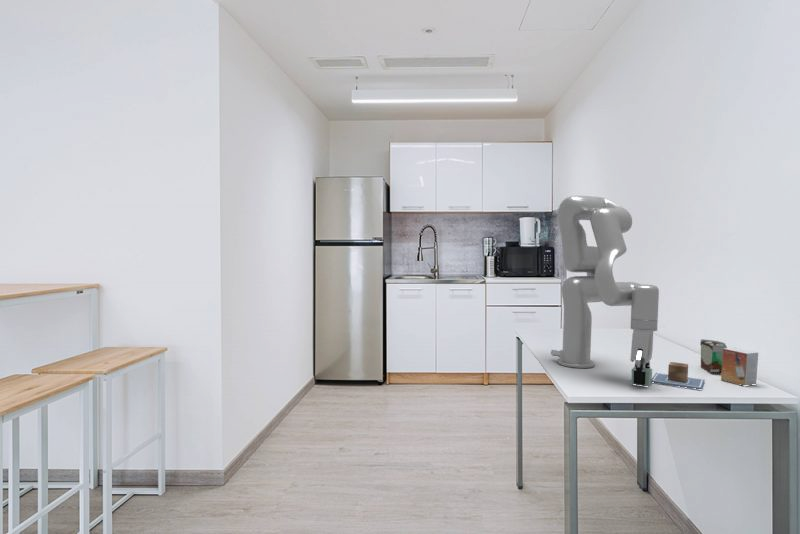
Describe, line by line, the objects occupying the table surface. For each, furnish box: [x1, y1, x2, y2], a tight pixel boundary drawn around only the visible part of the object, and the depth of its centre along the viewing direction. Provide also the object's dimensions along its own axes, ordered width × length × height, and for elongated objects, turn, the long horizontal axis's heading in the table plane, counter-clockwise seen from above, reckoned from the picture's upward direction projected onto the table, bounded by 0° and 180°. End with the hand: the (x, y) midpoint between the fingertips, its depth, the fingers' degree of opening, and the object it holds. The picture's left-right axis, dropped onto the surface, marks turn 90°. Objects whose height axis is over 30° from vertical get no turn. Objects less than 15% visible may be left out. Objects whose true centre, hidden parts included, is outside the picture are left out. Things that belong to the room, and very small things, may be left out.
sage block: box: [630, 367, 653, 388], centre depth 163 cm, size 5×5×5 cm
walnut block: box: [667, 361, 689, 383], centre depth 167 cm, size 5×5×5 cm
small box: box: [720, 347, 759, 385], centre depth 168 cm, size 8×6×10 cm
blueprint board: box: [652, 372, 706, 390], centre depth 167 cm, size 14×12×1 cm
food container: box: [700, 339, 728, 375], centre depth 182 cm, size 12×6×10 cm, turn 168°
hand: (641, 380), depth 163 cm, fingers open, 7 cm apart
